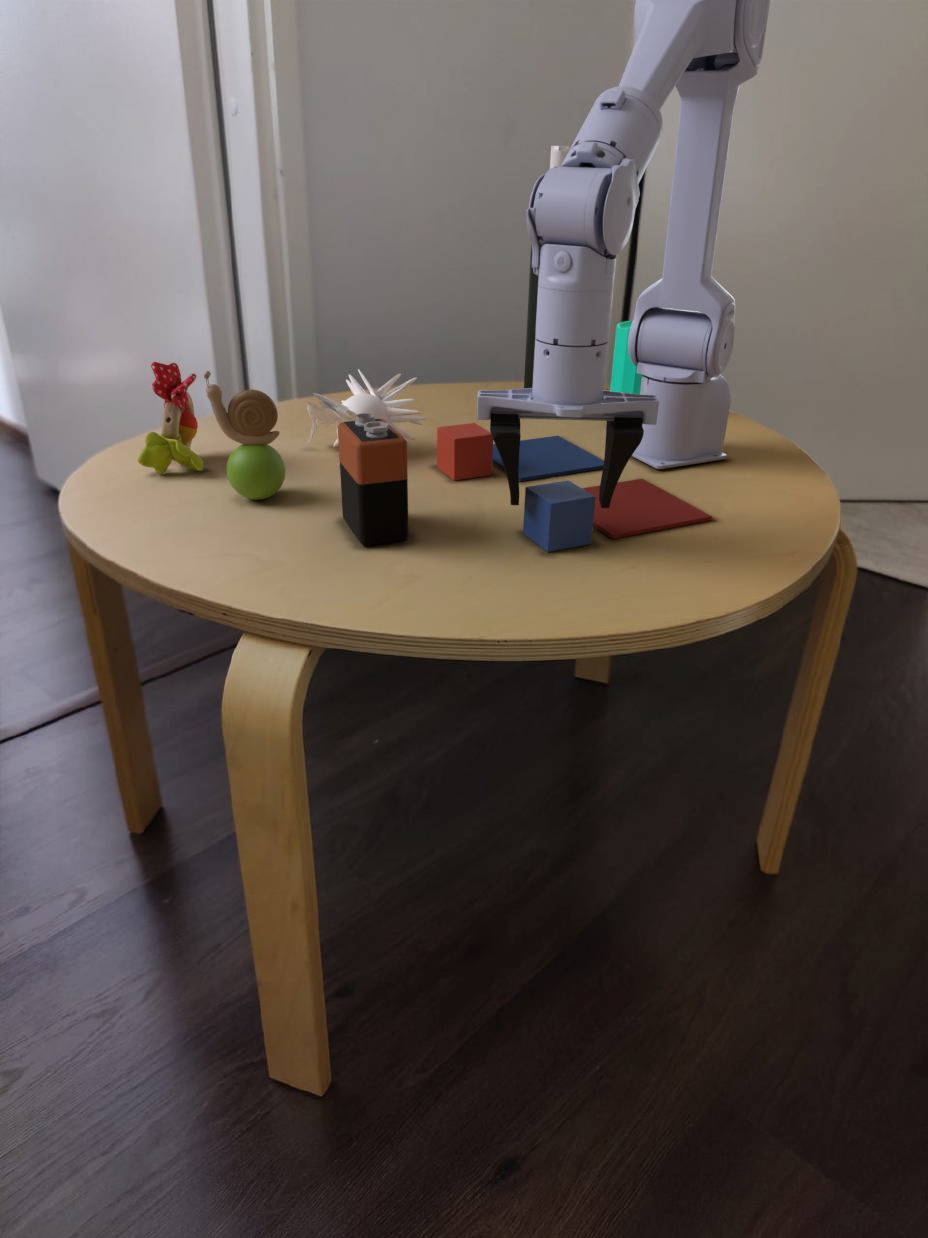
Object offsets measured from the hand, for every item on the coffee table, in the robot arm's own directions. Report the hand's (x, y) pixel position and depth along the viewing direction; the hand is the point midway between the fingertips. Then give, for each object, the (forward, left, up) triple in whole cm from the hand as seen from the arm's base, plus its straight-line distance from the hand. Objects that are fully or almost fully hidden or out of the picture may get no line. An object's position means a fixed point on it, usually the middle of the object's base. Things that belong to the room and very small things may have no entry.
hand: (559, 502), depth 74 cm
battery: (+14, -8, -4) cm, 17 cm away
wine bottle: (-23, -42, -4) cm, 48 cm away
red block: (0, -19, -3) cm, 19 cm away
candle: (-31, -33, -4) cm, 45 cm away
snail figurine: (+22, -20, -4) cm, 30 cm away
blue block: (0, 0, -3) cm, 3 cm away
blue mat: (-10, -20, -3) cm, 22 cm away
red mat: (-10, -4, -3) cm, 11 cm away
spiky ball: (+8, -30, -4) cm, 31 cm away
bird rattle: (+27, -32, -4) cm, 42 cm away
